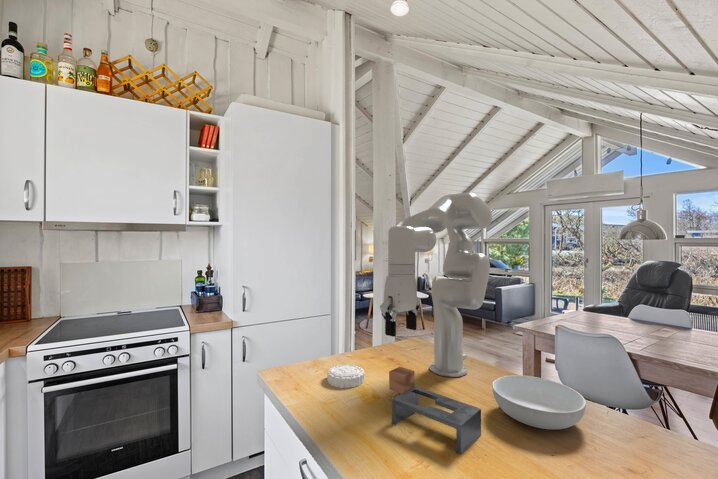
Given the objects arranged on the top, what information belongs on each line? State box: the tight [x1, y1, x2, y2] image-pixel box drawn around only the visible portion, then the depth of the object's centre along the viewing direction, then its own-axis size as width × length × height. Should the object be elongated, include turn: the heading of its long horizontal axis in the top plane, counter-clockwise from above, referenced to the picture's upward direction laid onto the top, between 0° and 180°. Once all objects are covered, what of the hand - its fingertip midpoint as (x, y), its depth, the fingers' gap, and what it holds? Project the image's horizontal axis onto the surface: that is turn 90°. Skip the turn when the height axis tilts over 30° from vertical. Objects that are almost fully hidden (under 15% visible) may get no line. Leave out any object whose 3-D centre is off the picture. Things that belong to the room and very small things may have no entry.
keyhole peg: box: [388, 366, 416, 399], centre depth 95 cm, size 5×5×8 cm
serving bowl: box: [491, 374, 587, 430], centre depth 86 cm, size 21×21×7 cm
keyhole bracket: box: [391, 386, 482, 455], centre depth 81 cm, size 18×10×6 cm, turn 47°
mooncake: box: [326, 364, 366, 389], centre depth 110 cm, size 12×12×4 cm
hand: (401, 332), depth 95 cm, fingers open, 9 cm apart
